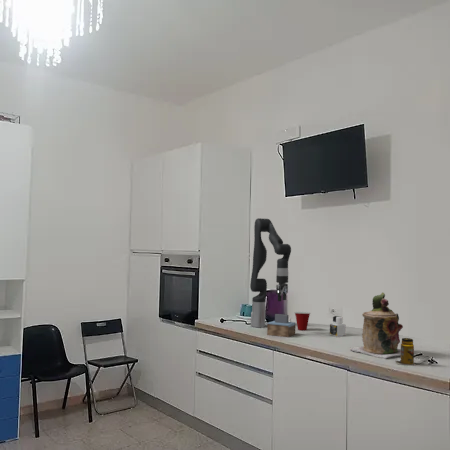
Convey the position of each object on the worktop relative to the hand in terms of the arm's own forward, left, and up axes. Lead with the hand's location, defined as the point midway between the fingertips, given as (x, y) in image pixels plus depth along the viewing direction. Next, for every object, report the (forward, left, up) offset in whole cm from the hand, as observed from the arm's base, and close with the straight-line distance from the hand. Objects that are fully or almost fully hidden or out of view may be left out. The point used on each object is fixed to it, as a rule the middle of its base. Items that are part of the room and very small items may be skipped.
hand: (281, 300), depth 317 cm
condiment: (+80, -41, -22) cm, 92 cm away
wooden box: (0, 0, -21) cm, 21 cm away
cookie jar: (+65, -21, -22) cm, 72 cm away
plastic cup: (+5, +26, -22) cm, 34 cm away
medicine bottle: (+31, +19, -22) cm, 42 cm away
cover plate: (0, 0, -15) cm, 15 cm away
